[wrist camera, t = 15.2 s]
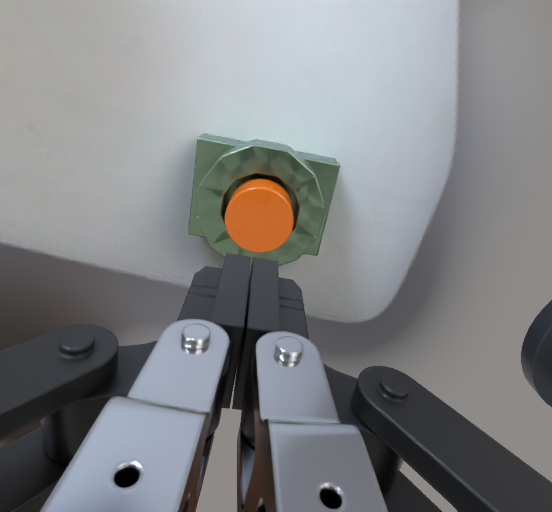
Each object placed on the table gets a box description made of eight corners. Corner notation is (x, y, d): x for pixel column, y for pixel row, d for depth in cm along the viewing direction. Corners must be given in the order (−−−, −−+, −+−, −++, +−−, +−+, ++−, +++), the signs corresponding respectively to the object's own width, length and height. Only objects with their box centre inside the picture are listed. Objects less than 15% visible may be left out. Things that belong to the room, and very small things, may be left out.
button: (297, 184, 18) (300, 194, 16) (285, 243, 19) (286, 258, 17) (233, 172, 17) (229, 181, 16) (225, 233, 19) (220, 247, 17)
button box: (337, 149, 20) (349, 162, 17) (312, 251, 23) (319, 279, 19) (204, 124, 20) (190, 132, 16) (193, 231, 22) (179, 256, 19)
